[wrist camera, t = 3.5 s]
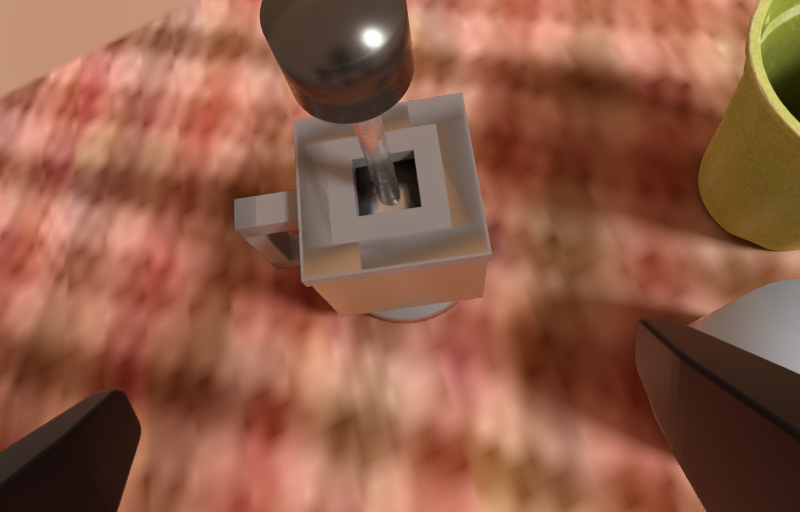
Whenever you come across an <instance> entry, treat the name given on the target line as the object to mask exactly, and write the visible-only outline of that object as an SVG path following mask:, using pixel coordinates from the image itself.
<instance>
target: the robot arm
mask: <svg viewBox="0 0 800 512" xmlns="http://www.w3.org/2000/svg"><path fill="white" fill-rule="evenodd" d="M635 363H636V368H637V372H638V374H639V377H640V379H641V381H642V384H643V386H644V388H645V390H646V393H647V395H648V397H649V400H650V402H651V404H652V407H653V409H654V411H655V414H656V416H657V418H658V420H659V423H660V425H661V427H662V430H663V432H664V434H665V437H666V439H667V441H668V443H669V445H670V448H671V450H672V452H673V454H674V456H675V458H676V459H677V461H678V463H679V465H680V467H681V468H682V470H683V472H684V474H685V475H686V477H687V479H688V481H689V482H690V484H691V486H692V488H693V489H694V491H695V493H696V494H697V496H698V498H699V500H700V501H701V503H702V505H703V507H704V508H705V510H706V512H800V374H799V373H797V372H794V371H792V370H790V369H787V368H785V367H783V366H780V365H778V364H776V363H773V362H771V361H769V360H767V359H764V358H762V357H760V356H757V355H755V354H753V353H750V352H748V351H746V350H743V349H741V348H739V347H736V346H734V345H732V344H730V343H727V342H725V341H723V340H720V339H718V338H716V337H713V336H711V335H709V334H706V333H704V332H702V331H699V330H697V329H695V328H693V327H690V326H688V325H686V324H683V323H681V322H679V321H676V320H674V319H672V318H669V317H667V316H663V315H660V316H653V317H646V318H641V319H639V320H638V322H637V325H636V345H635ZM140 436H141V426H140V422H139V420H138V418H137V416H136V414H135V411H134V409H133V407H132V405H131V403H130V401H129V399H128V397H127V395H126V393H125V392H124V391H122V390H120V389H111V390H103V391H98V392H95V393H93V394H92V395H90V396H89V397H87V398H85V399H84V400H82V401H81V402H79V403H77V404H76V405H74V406H73V407H71V408H69V409H68V410H66V411H65V412H63V413H62V414H60V415H58V416H57V417H55V418H54V419H52V420H50V421H49V422H47V423H46V424H44V425H42V426H41V427H39V428H38V429H36V430H35V431H33V432H31V433H30V434H28V435H27V436H25V437H23V438H22V439H20V440H19V441H17V442H15V443H14V444H12V445H11V446H9V447H7V448H6V449H4V450H3V451H1V452H0V512H117V511H118V508H119V505H120V502H121V498H122V495H123V492H124V489H125V485H126V482H127V479H128V476H129V473H130V469H131V466H132V463H133V460H134V456H135V453H136V450H137V447H138V444H139V440H140Z"/></svg>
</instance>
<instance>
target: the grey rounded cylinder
mask: <svg viewBox="0 0 800 512" xmlns="http://www.w3.org/2000/svg"><path fill="white" fill-rule="evenodd" d="M688 326H690V327H693V328H695V329H697V330H699V331H702V332H704V333H706V334H709V335H711V336H713V337H716V338H718V339H720V340H723V341H725V342H727V343H730V344H732V345H734V346H736V347H739V348H741V349H743V350H746V351H748V352H750V353H753V354H755V355H757V356H760V357H762V358H764V359H767V360H769V361H771V362H773V363H776V364H778V365H780V366H783V367H785V368H787V369H790V370H792V371H794V372H797V373H799V374H800V279H788V280H783V281H777V282H774V283H771V284H767V285H764V286H762V287H760V288H758V289H756V290H754V291H752V292H750V293H748V294H746V295H744V296H742V297H740V298H738V299H737V300H735V301H733V302H731V303H729V304H727V305H725V306H723V307H721V308H719V309H717V310H715V311H713V312H711V313H709V314H708V315H706V316H704V317H702V318H700V319H698V320H696V321H694V322H692V323H690V324H688ZM648 399H649V397H648ZM649 404H650V407H651V410H652V413H653V416H654V418H655V420H656V422H657V424H658V426H659V427H660V429H661V431H662V432H663V430H662V427H661V425H660V423H659V420H658V418H657V416H656V414H655V411H654V409H653V407H652V404H651V402H650V400H649ZM663 434H664V432H663ZM664 435H665V434H664Z"/></svg>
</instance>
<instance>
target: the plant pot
mask: <svg viewBox="0 0 800 512" xmlns="http://www.w3.org/2000/svg"><path fill="white" fill-rule="evenodd" d="M745 53H746V60H745V65H744V74H743V76H742V78H741V81H740V83H739V85H738V87H737V89H736V91H735V93H734V95H733V97H732V99H731V101H730V104H729V106H728V108H727V110H726V112H725V114H724V116H723V118H722V120H721V122H720V124H719V126H718V128H717V130H716V132H715V134H714V136H713V138H712V140H711V141H710V143H709V145H708V147H707V149H706V151H705V153H704V156H703V158H702V161H701V164H700V167H699V173H698V187H699V192H700V196H701V199H702V201H703V203H704V205H705V207H706V209H707V211H708V212H709V213H710V215H711V216H712V217H713V218H714V220H715V221H716V222H717V223H718V224H719V225H720V226H721V227H722V228H723V229H725V230H726V231H727V232H729V233H730V234H732V235H735V236H738V237H740V238H743V239H746V240H748V241H751V242H753V243H755V244H757V245H760V246H762V247H764V248H766V249H769V250H776V251H794V250H800V0H760V1H759V2H758V4H757V6H756V8H755V10H754V13H753V15H752V17H751V20H750V23H749V26H748V31H747V37H746V48H745Z"/></svg>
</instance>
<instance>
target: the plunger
mask: <svg viewBox="0 0 800 512" xmlns="http://www.w3.org/2000/svg"><path fill="white" fill-rule="evenodd" d="M260 24H261V28H262V31H263V34H264V36H265V38H266V40H267V42H268V44H269V46H270V48H271V50H272V52H273V54H274V56H275V58H276V60H277V62H278V64H279V66H280V68H281V70H282V72H283V74H284V76H285V78H286V80H287V82H288V85H289V87H290V89H291V91H292V93H293V95H294V97H295V99H296V100H297V102H298V103H299V105H300V106H301V107H302V108H303V109H304V110H305V111H306V112H308V113H309V114H310V115H312V116H314V117H316V118H318V119H320V120H323V121H326V122H330V123H336V124H353V126H354V129H355V132H356V135H357V138H358V141H359V144H360V146H361V149H362V152H363V155H364V158H365V161H366V163H367V166H364V167H358V168H357V169H356V170H355V176H356V187H357V197H358V208H359V216H364V215H371V214H377V213H384V212H390V211H397V210H404V209H410V208H417V207H422V206H421V199H420V192H419V185H418V177H417V170H416V163H415V159H408V160H402V161H396V162H392V158H391V154H390V151H389V147H388V143H387V139H386V135H385V131H384V127H383V123H382V119H381V114H383V113H385V112H386V111H388V110H389V109H391V108H392V107H393V106H394V105H395V104H396V103H397V102H398V101H399V100H400V99H401V98H402V97H403V95H404V94H405V93H406V91H407V89H408V88H409V86H410V83H411V81H412V77H413V73H414V57H413V49H412V42H411V34H410V27H409V19H408V11H407V4H406V0H262V4H261V8H260Z"/></svg>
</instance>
